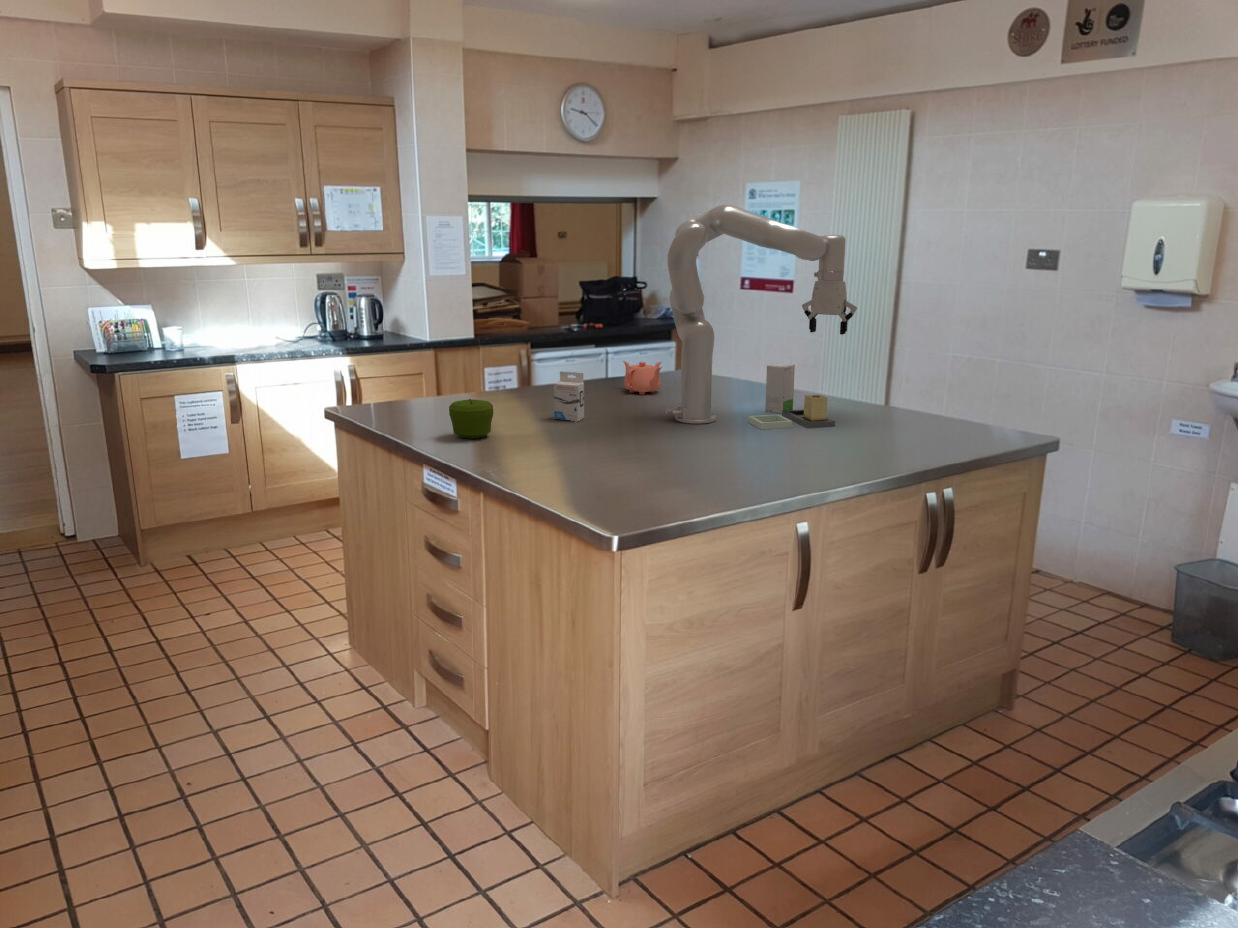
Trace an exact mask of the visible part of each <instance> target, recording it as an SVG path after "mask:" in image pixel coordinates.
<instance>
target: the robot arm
mask: <svg viewBox="0 0 1238 928" xmlns="http://www.w3.org/2000/svg"><path fill="white" fill-rule="evenodd" d="M722 235H727V236H729V237H732V238H735V239H738V240H741V241H744V242H747V243H750V244H753V245H756V246H758V247H762V248H765V249H768V250H769V249H771V250H777V251H780V252H784V253H787V254H789V255H793V256H794V257H797V258H798V259H801V260H804V261H810V262H815V261H818V270H817V272H813V277H815V278H817V279H816V280H815V281H814V285H813V289H812V295H811V296H812V297H811V300H809V301H806V302H804V303H803V304H801V306H802V307H801V308H802V309H803V312H804V314H805V315H806V317H807V319H808V320H809V322H808V324H809V325H808V329H809V332H810V333H811V334H812V333H816V332H817V316H818V315H828V316H829V315H830V316H839V318H840V319H841V321H840V324H839V335H841V336H842V335H845V334H846V333H847V331H848V322H849V320H850V319H852V318H853V317H854V315H855V313H856V312H857V310H858V307H857V306H856V305H855V304H853V303H851V302H850V301H848V297H847V294H848V293H847V285H846V281H844V275H845V274H844V271H845V256H846V255H845V254H846V237H845V236H844V235H841V234H826V235H817V234H816V233H812V232H809V231H806V230H803V229H801V228H797V227H796V226H791V225H789V224H786V223H783V222H780V221H778V220H775V219H773V218H769V217H767V216H764V215H762V214H759V213H756V212H753V211H750V210H746V209H743V208H741V207H739V206H735V205H732V204H721V205H720V204H719V205H717V206H715V207H713V208H711V209H709V210H707V211H706V212H703V213H701V214H699V215H696V216H693V218H690V219H688V220H686V221H683V222H682V223H681V224H680V225H679V226H678V227H676V230H675V237H674V238H673V240H672V242H671V244H670V246H669V249H668V253H667V268H668V274H669V279H670V280H669V281H670V284H671V290H670V293H669V303H670V307H671V313H672V316H673V317H672V318H673V321H674V325H675V329H676V331H677V333H676V334H677V335H678V338H679V339H680V341H681V342H682V347H681V356H680V357H681V358H680V359H681V360H680V361H681V362H680V404H677V406H676V407H675V406H674V407H673V408H670V407H669V408H668V407H667V408H665V409H664V410H665V412H664V413H665V415H672V416H675V417H674V418H675V421H676V422H680V423H684V424H696V425H697V424H699V425H700V424H708V423H714V422H715V421H716V420H717V415H715V414H714V413H713V414H712V385H713V384H712V383H713V382H712V381H713V379H712V378H713V377H712V376H713V355H714V354H713V353H714V345H715V332H714V328H713V326H712V325H711V323H710V322H709V321H707V320H706V318H705V314H704V310H703V307H704V304H705V295H704V293H703V289H702V285H701V280H700V277H699V272H698V264H697V257H698V254H699V252H700V250H702V248H703V247H705V245H706V244H707V243H708V242H710V241H713V240H715V239H716V238H718V237H720V236H722ZM809 307H810V309H809ZM847 308H848V309H849V310H850V311H849V312H848V313H846V312H847Z"/></svg>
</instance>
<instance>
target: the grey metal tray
mask: <svg viewBox="0 0 1238 928" xmlns="http://www.w3.org/2000/svg"><path fill="white" fill-rule="evenodd" d="M781 416H783V417H785V418H787V419H789V420H791V421H793V422H794V423H796V424H798V425H800V426H802V427H804V428H806V429H812V428H813V429H816V428H818V429H819V428H833V427H836V420H833V419H832V418H830V417H827V416H826V421H812V422H810V421H808V420H805V419H804V408H803V409H793V410H786V411H782V414H781Z"/></svg>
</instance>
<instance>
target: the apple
mask: <svg viewBox="0 0 1238 928" xmlns="http://www.w3.org/2000/svg"><path fill="white" fill-rule="evenodd" d="M448 413H449V417H450V420H451V424H452V431H453V434H454V435H456V436H458V437H460V438H461V439H480V437H481V438H484V437H485V436H486V435H488V434H489V433H491V429H492V421H493V417H494V405H493V404H492V403H491V402H490V401H488V400H480V399H471V398H469V399H462V400H461V399H460V400H456V401H453V402H452V403H451V404H450V405H449V406H448ZM483 436H484V437H483Z"/></svg>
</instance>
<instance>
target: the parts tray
mask: <svg viewBox="0 0 1238 928" xmlns="http://www.w3.org/2000/svg"><path fill="white" fill-rule="evenodd" d="M747 419H748V420H747V423H748V424H750V425H752V426H754V427H756V428H757V429H759V430H763V431H764V430H776V429H791V428H792V429H793V422H794V421H792V420H790V419H788V418H785V417H783V416H782V414H780V413H776V414H765V415H764V414H763V415H762V414H761V415H748V418H747Z"/></svg>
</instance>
